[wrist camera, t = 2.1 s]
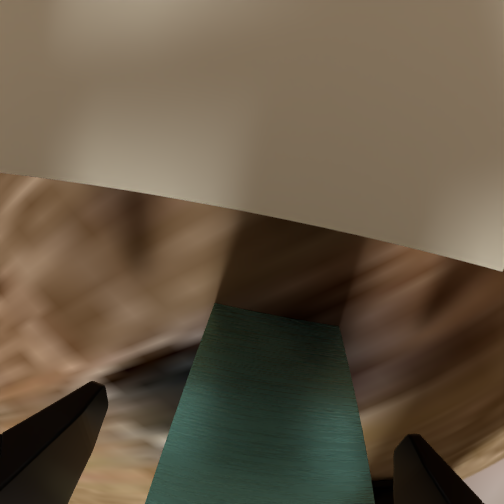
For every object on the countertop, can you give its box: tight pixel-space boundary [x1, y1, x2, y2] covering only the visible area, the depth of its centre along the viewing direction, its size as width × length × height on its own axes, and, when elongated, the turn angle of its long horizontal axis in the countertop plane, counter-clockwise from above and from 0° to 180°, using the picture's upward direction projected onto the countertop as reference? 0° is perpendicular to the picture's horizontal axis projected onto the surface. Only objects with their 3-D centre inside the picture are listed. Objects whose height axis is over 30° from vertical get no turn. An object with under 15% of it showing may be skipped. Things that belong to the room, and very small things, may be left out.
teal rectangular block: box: [145, 303, 375, 504], centre depth 6 cm, size 4×4×10 cm
